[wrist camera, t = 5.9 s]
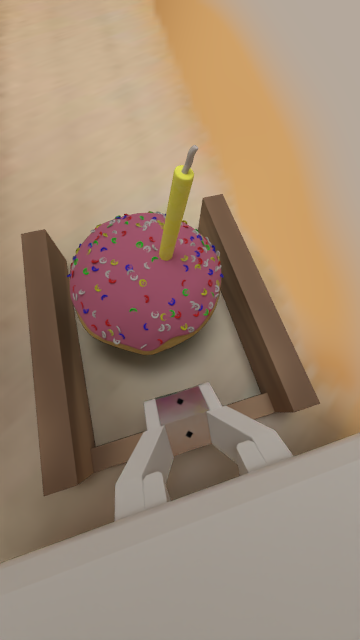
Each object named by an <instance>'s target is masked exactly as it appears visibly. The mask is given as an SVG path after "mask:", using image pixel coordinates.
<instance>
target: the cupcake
mask: <svg viewBox="0 0 360 640" xmlns="http://www.w3.org/2000/svg"><path fill="white" fill-rule="evenodd" d="M197 150H198V147H197V146H196V145H193V146H192V147H191V148H190V150H189V152H188V155H187V159H186V163H185V165H180V166H177V167H176V168H175V170H174V175H173V180H172V186H171V191H170V197H169V202H168V207H167V213H166V214H165V215H164V214H163V213H162V214H161V213H160V212H156V213H153V212H151V211H149V212H148V213H137V214H132V215H128V214H124V215H125V216H123V217H121V216H117V217H115V219H113V220H111V221H108V222H106V223H103V224H100V225H98V226H99V227H98V226H96V228H95V230H91V232H92V233H91V234H90V235H89V236H88V238H87V239H86V240H85V241H84V242H83V244H82V245H81V244H80V245H79V248H78V249H77V250H76V255H75V256H73V263H71V271H70V274H69V275H67V277H70V278H69V285H70V295H71V299H72V302H73V305H74V307H75V309H76V312H77V314H78V317H79V319H80V321H81V323H82V325H83V327H84V328H85V329H86V331H87V332H88V333H89V334H90V335H92V336H93V337H94V338H96V339H98V340H100V341H102V342H104V343H107V344H109V345H112V346H115V347H118V348H121V349H124V350H127V351H131V352H135V353H139V354H143V355H153V354H156V353H158V352H161V351H163V350H166V349H168V348H171V347H173V346H176V345H178V344H180V343H181V342H183V341H185V340H187V339H189V338H190V337H192V336H193V335H195V334H196V333H197V332H198V331H199V330H200V329H202V328H203V326H204V325H205V324H206V323H207V322H208V320H209V319H210V317H211V316H212V314H213V312H214V310H215V308H216V305H217V302H218V298H219V294H220V287H221V278H223V277H224V276H223V274H222V273H221V266H222V265H220V263H221V261H219V256H220V252H219V251H215V246H214V245H211V243H210V242H209V239H208V238H207V237H203V236H202V235H201V234H200V233H199V232H198V230H197V229H193V228H192V227H190V226H189V225H187V222H186V221H184V220H183V221H182V219H183V215H184V211H185V207H186V204H187V200H188V196H189V193H190V189H191V185H192V182H193V178H194V173H193V171H192V169H191V168H190V167H191V165H192V162H193V158H194V155H195V153H196V152H197ZM157 213H159V214H157ZM183 222H185V223H183ZM213 248H214V249H213ZM218 254H219V255H218ZM217 255H218V256H217Z"/></svg>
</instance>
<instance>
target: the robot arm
mask: <svg viewBox="0 0 360 640" xmlns="http://www.w3.org/2000/svg"><path fill="white" fill-rule="evenodd" d="M144 411H145V418H146V426H147V431H145V432H143V434H142V436H141V438H140V440H139V442H138V443H137V445H136V447H135V449H134V451H133V453H132V455H131V456H130V458H129V460H128V462H127V464H126V466H125V468H124V469H123V471H122V473H121V475H120V477H119V479H118V481H117V482H116V484H115V522H112V523H109V524H107V525H104V526H101V527H98V528H96V529H93V530H90V531H87V532H84V533H82V534H79V535H76V536H73V537H71V538H68V539H65V540H62V541H60V542H57V543H54V544H51V545H49V546H46V547H43V548H40V549H38V550H35V551H32V552H29V553H27V554H24V555H21V556H18V557H16V558H13V559H10V560H7V561H5V562H2V563H0V640H360V433H357V434H354V435H351V436H349V437H346V438H343V439H340V440H338V441H335V442H332V443H329V444H327V445H324V446H321V447H318V448H316V449H313V450H310V451H307V452H305V453H302V454H299V455H296V456H293V454H292V453H291V452H290V450H289V449H288V448H287V446H286V445H285V443H284V442H283V441H282V439H281V438H280V437H279V435H278V434H277V432H276V431H275V430H273V429H271V428H269V427H267V426H265V425H263V424H261V423H259V422H257V421H255V420H254V419H252V418H250V417H248V416H246V415H244V414H242V413H240V412H238V411H236V410H234V409H232V408H230V407H228V406H222V405H221V403H220V401H219V399H218V397H217V395H216V394H215V392H214V390H213V388H212V386H211V384H210V383H209V382H206V383H203V384H200V385H198V386H195V387H191V388H188V389H185V390H182V391H179V392H175V393H172V394H168V395H164V396H161V397H157V398H154V399H151V400H147V401H144ZM209 444H212V445H214V446H215V447H216V448H217V449H219V450H220V451H221V452H222V453H224V454H225V455H226V456H227V457H229V458H230V459H231V460H232V461H234V462H235V463H236V464H237V465H238V466H239V475H240V476H239V477H236V478H233V479H230V480H228V481H225V482H222V483H219V484H217V485H214V486H211V487H208V488H206V489H203V490H200V491H197V492H195V493H192V494H189V495H186V496H184V497H181V498H178V499H175V500H173V501H171V499H170V496H169V493H168V490H167V487H166V482H167V479H168V476H169V472H170V469H171V466H172V462H173V459H174V456H177V455H179V454H182V453H185V452H187V451H190V450H193V449H196V448H199V447H203V446H206V445H209Z"/></svg>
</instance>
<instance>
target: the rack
mask: <svg viewBox="0 0 360 640" xmlns="http://www.w3.org/2000/svg"><path fill="white" fill-rule="evenodd" d="M198 232H199V233H200V234H201V235H202V236H203V237H207V238H208V239H209V242H210V243H211V245H214V246H215V251H219V252H220V256H219V261H221V263H220V265H222V266H221V273H222V274H223V276H224V277H223V278H221V287H220V289H221V292H222V294H223V297H224V299H225V302H226V304H227V307H228V309H229V312H230V315H231V317H232V320H233V322H234V325H235V327H236V330H237V332H238V335H239V337H240V340H241V342H242V345H243V348H244V350H245V353H246V355H247V358H248V360H249V363H250V365H251V368H252V370H253V373H254V375H255V378H256V381H257V383H258V386H259V388H260V391H261V393H262V394H260V395H257V396H254V397H250V398H247V399H244V400H241V401H238V402H235V403H232V404H229V405H225V406H228V407H230V408H232V409H234V410H236V411H238V412H240V413H242V414H244V415H246V416H248V417H250V418H252V419H257V418H260V417H263V416H266V415H269V414H272V413H275V412H296V411H299V410H302V409H305V408H308V407H311V406H314V405H317V404H320V402H319V400H318V398H317V396H316V393H315V391H314V389H313V387H312V385H311V383H310V381H309V378H308V376H307V374H306V372H305V370H304V368H303V366H302V363H301V361H300V359H299V357H298V355H297V353H296V351H295V348H294V346H293V344H292V342H291V340H290V338H289V336H288V333H287V331H286V329H285V327H284V325H283V323H282V321H281V318H280V316H279V314H278V312H277V310H276V308H275V306H274V303H273V301H272V299H271V297H270V295H269V293H268V291H267V288H266V286H265V284H264V282H263V280H262V278H261V276H260V274H259V271H258V269H257V267H256V265H255V263H254V261H253V259H252V256H251V254H250V252H249V250H248V248H247V246H246V244H245V241H244V239H243V237H242V235H241V233H240V231H239V229H238V226H237V224H236V222H235V220H234V218H233V216H232V214H231V211H230V209H229V207H228V205H227V203H226V201H225V199H224V196H223V194H220V195H215V196H210V197H205V198H203V200H202V207H201V214H200V221H199V228H198ZM21 238H22V250H23V261H24V273H25V285H26V296H27V308H28V319H29V331H30V343H31V354H32V366H33V378H34V389H35V401H36V413H37V424H38V436H39V448H40V459H41V471H42V482H43V494H44V496H47V495H50V494H53V493H55V492H58V491H61V490H64V489H67V488H70V487H73V486H76V485H78V484H80V483H81V482H82V481H84V480H85V479H86V478H88V477H89V476H90V475H91V474H93V473H94V472H97V471H100V470H103V469H106V468H109V467H112V466H115V465H118V464H121V463H124V462H127V461H128V460H129V458H130V456H131V455H132V453H133V451H134V449H135V447H136V445H137V443H138V442H139V440H140V438H141V436H142V434H143V432H141V433H138V434H135V435H131V436H128V437H125V438H122V439H119V440H116V441H113V442H110V443H106V444H103V445H100V446H97V447H95V441H94V435H93V429H92V422H91V416H90V409H89V403H88V397H87V390H86V384H85V377H84V371H83V365H82V358H81V352H80V346H79V339H78V333H77V326H76V320H75V314H74V307H73V302H72V299H71V295H70V285H69V277H67V275H68V269H67V263H66V259H65V258H64V256H63V255H62V254H61V252H60V251H59V249H58V248H57V246H56V245H55V243H54V242H53V240H52V239H51V238H50V236H49V235H48V233H47V232H46V230H45V229H44V230H39V231H34V232H29V233H24V234H21ZM213 249H214V248H213ZM218 255H219V254H218ZM218 255H217V256H218ZM144 432H145V431H144Z"/></svg>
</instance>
